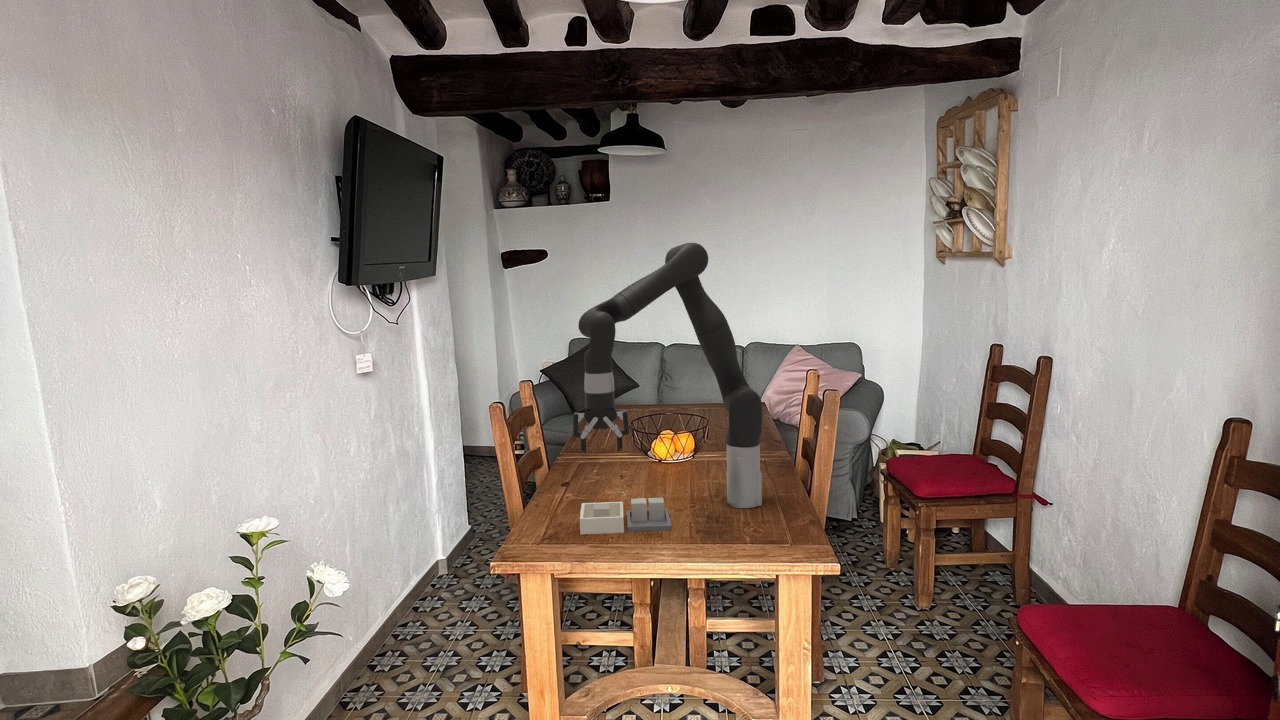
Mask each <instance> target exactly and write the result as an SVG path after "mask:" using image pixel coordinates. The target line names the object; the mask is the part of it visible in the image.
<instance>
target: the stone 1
mask: <svg viewBox="0 0 1280 720" xmlns="http://www.w3.org/2000/svg"><path fill="white" fill-rule="evenodd" d="M594 517H610V507H609V504H594Z"/></svg>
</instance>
